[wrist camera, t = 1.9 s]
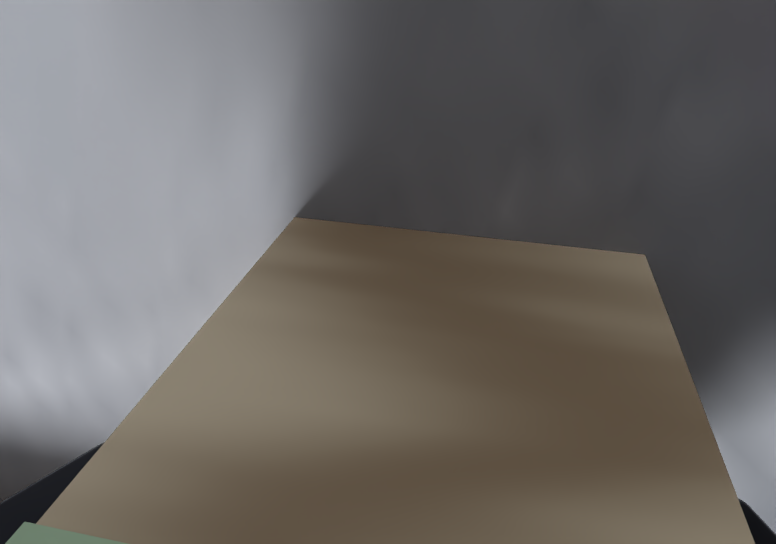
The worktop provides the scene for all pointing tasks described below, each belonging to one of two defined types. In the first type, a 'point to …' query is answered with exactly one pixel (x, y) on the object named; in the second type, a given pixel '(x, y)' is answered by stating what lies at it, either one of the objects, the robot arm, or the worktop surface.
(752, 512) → the robot arm
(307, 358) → the tan green-striped carton
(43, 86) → the worktop surface
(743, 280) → the worktop surface
